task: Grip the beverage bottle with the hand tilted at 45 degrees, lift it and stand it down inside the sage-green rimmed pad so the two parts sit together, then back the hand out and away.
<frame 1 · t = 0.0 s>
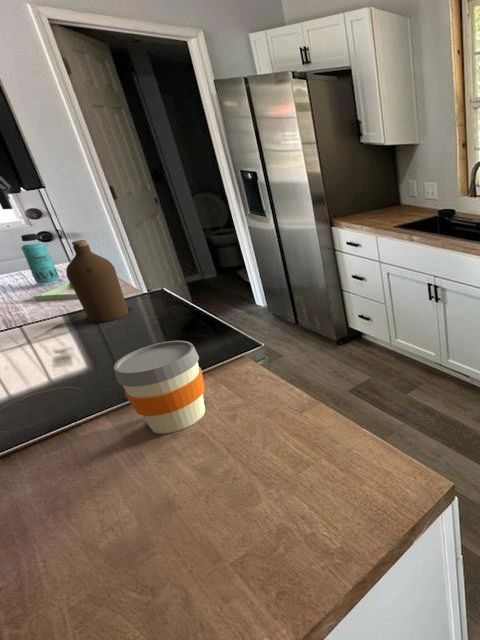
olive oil: (110, 317, 132), on the worktop
reusable coffee cup: (179, 419, 85), on the worktop
beverage bottle: (50, 284, 160), on the worktop
back pad: (75, 294, 150), on the worktop
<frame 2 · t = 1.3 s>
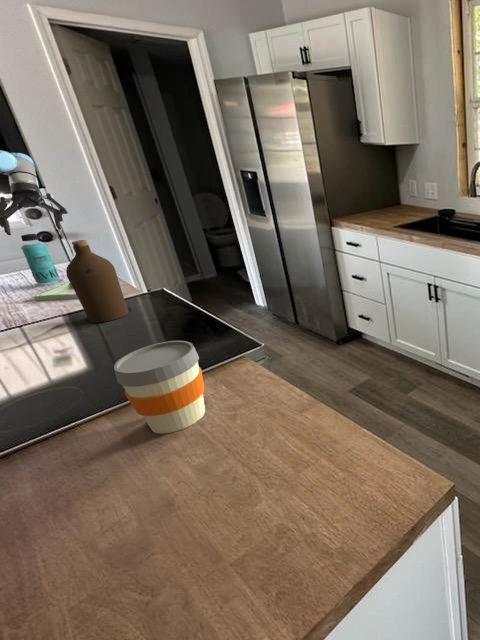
hand: (33, 230, 160), 20 cm above the worktop, tool tilted 45°, fingers open, 13 cm apart
nothing on the worktop moved.
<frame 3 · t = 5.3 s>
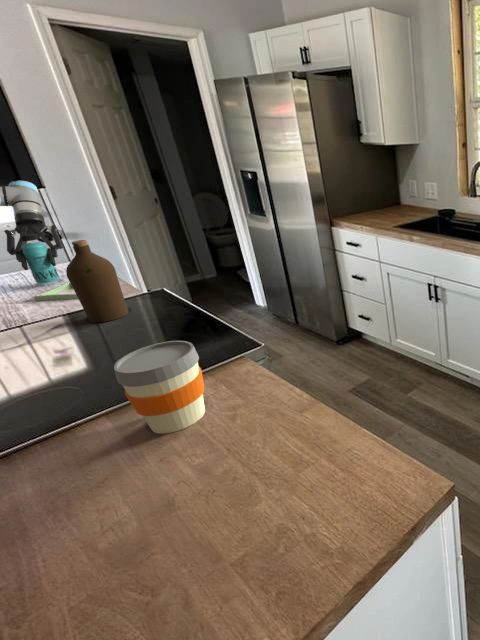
hand: (39, 266, 154), 8 cm above the worktop, tool tilted 45°, fingers closed on beverage bottle, 7 cm apart
beverage bottle: (50, 284, 160), on the worktop, touching gripper
everything else where it was.
when the fingers open (9 cm above the worktop, at t = 14.3 s): beverage bottle stays where it is, resting on back pad.
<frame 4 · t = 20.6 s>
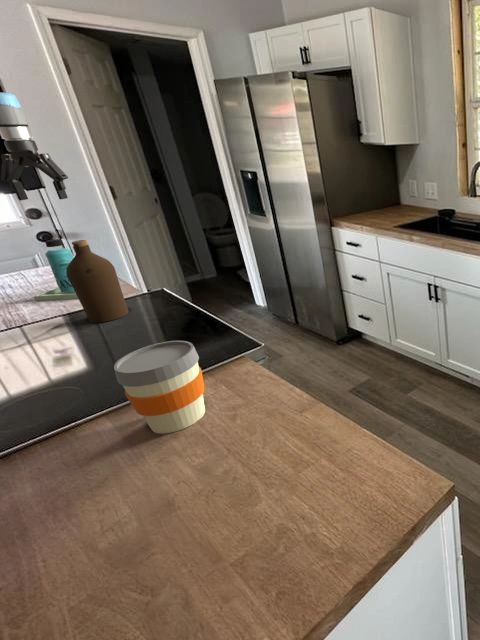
hand: (43, 199, 155), 32 cm above the worktop, tool pointing down, fingers open, 13 cm apart
beverage bottle: (75, 293, 150), resting on back pad
everything else where it was.
at the end: beverage bottle inside the target area in the back pad (0.1 cm from its centre), point 0.3 cm above the back pad's base; beverage bottle tilted 0°; the gripper is holding nothing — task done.
